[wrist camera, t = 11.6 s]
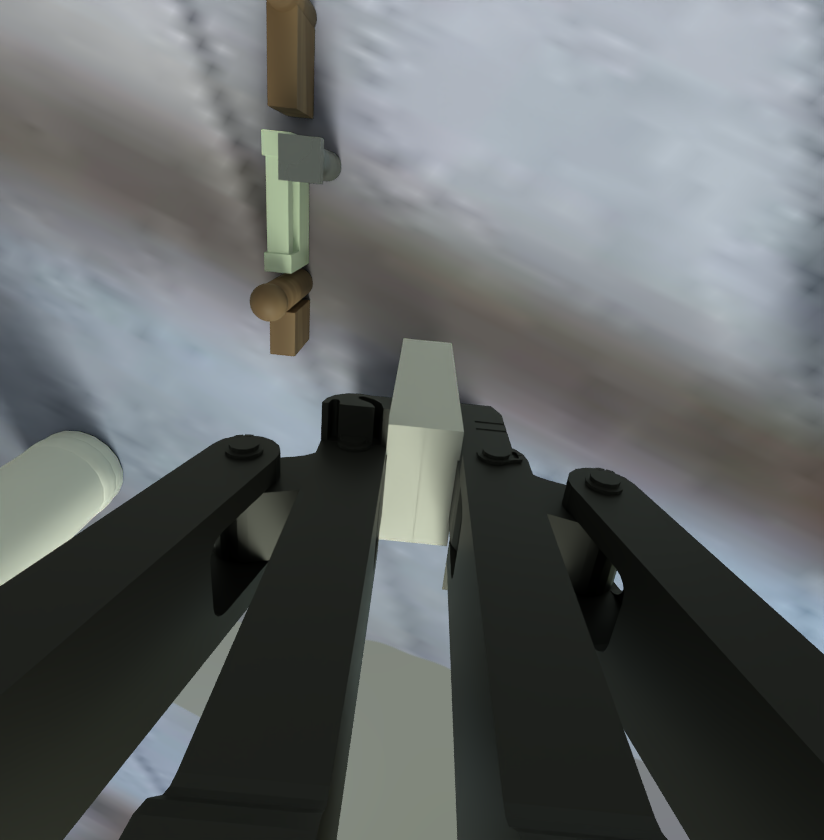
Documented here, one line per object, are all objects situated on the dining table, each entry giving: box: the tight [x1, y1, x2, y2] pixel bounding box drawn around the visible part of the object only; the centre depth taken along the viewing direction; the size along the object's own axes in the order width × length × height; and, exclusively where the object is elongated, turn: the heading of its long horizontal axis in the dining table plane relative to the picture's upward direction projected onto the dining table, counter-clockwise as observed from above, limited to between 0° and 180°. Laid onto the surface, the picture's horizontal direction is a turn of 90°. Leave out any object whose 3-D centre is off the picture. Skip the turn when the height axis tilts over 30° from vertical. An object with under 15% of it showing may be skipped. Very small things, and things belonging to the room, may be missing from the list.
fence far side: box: [266, 0, 317, 119], centre depth 32 cm, size 2×7×7 cm, turn 174°
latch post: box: [278, 133, 341, 184], centre depth 34 cm, size 2×2×9 cm
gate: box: [261, 129, 309, 274], centre depth 36 cm, size 8×2×6 cm, turn 175°
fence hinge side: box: [250, 268, 313, 356], centre depth 38 cm, size 2×6×10 cm, turn 175°
